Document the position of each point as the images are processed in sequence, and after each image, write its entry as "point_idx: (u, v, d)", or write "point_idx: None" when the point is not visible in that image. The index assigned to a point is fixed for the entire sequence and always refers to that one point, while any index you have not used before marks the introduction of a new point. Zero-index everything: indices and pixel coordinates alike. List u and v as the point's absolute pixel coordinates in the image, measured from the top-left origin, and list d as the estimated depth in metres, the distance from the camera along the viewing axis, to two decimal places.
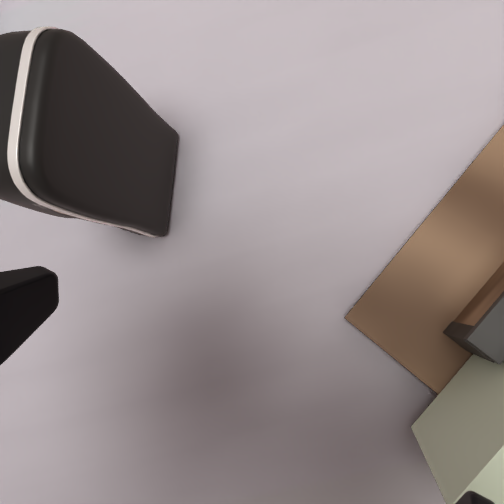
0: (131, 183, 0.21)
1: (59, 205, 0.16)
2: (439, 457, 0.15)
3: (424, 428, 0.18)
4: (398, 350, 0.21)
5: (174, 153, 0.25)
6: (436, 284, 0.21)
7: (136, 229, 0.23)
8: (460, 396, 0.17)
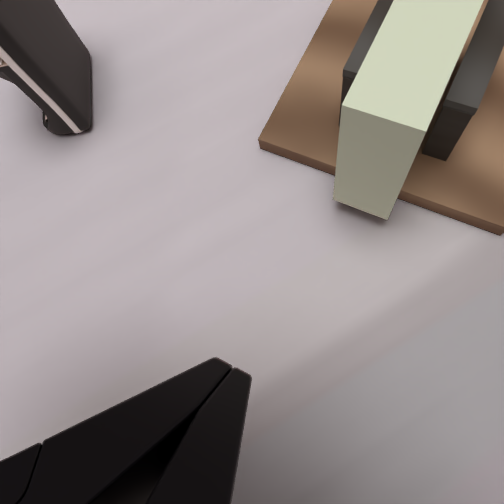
0: (49, 52, 0.23)
1: None
2: None
3: None
4: (307, 149, 0.24)
5: (88, 65, 0.29)
6: (324, 94, 0.25)
7: (60, 108, 0.25)
8: None
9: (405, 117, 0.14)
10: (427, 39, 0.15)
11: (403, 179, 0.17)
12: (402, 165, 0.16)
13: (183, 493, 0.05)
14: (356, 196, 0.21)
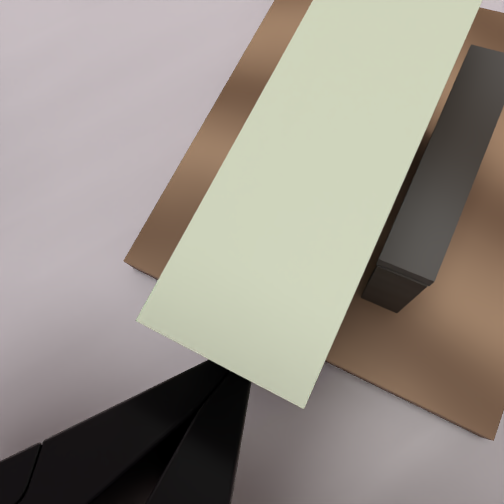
0: None
1: None
2: None
3: None
4: None
5: None
6: None
7: None
8: None
9: (261, 364, 0.06)
10: (323, 174, 0.07)
11: None
12: None
13: (183, 493, 0.05)
14: None
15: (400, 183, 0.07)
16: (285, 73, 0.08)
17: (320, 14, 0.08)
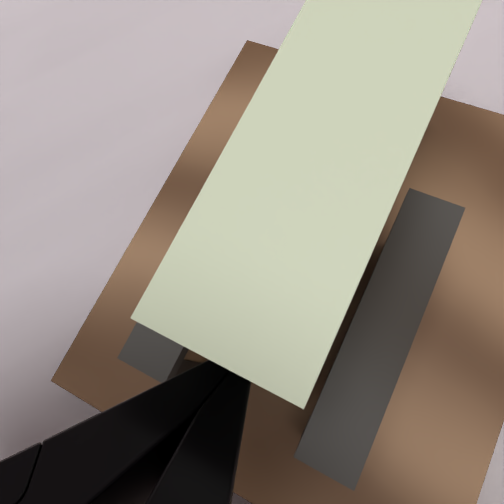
0: None
1: None
2: None
3: None
4: None
5: None
6: None
7: None
8: None
9: (260, 363, 0.06)
10: (324, 167, 0.07)
11: None
12: None
13: (183, 493, 0.05)
14: None
15: (403, 175, 0.07)
16: (284, 63, 0.08)
17: (320, 2, 0.08)
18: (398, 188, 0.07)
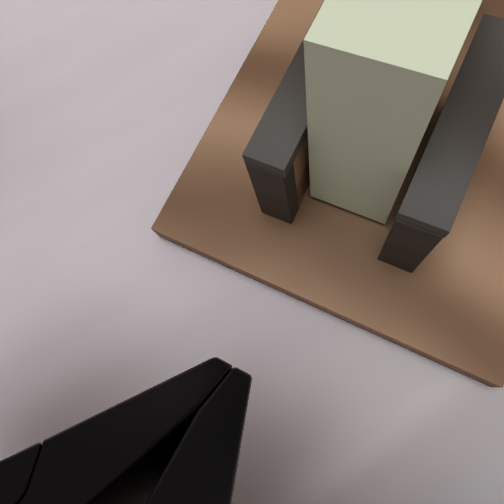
0: None
1: None
2: None
3: None
4: (217, 246, 0.17)
5: None
6: (245, 164, 0.18)
7: None
8: None
9: (410, 56, 0.08)
10: None
11: (407, 166, 0.11)
12: (405, 144, 0.10)
13: (183, 493, 0.05)
14: (341, 191, 0.15)
15: None
16: None
17: None
18: None
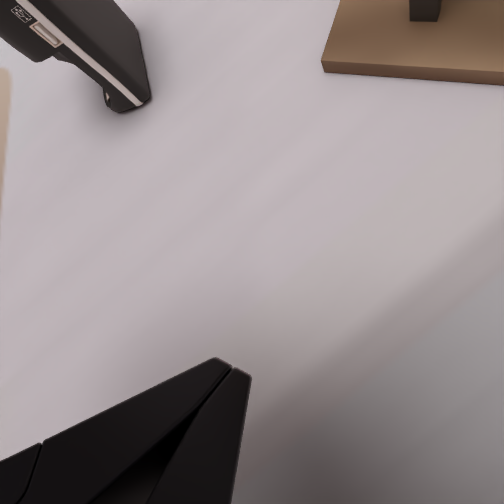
0: (98, 25, 0.23)
1: None
2: None
3: None
4: (378, 56, 0.21)
5: (136, 37, 0.28)
6: None
7: (118, 81, 0.25)
8: None
9: None
10: None
11: None
12: None
13: (183, 493, 0.05)
14: None
15: None
16: None
17: None
18: None
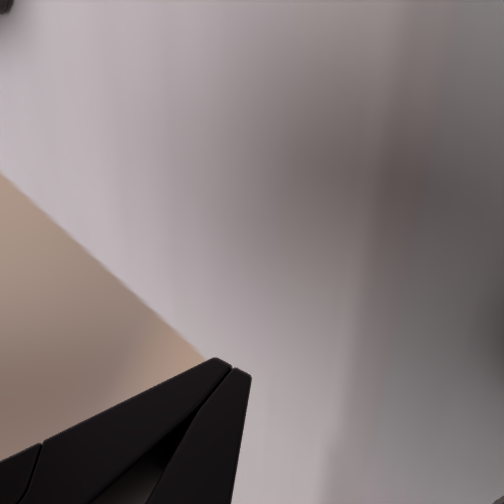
0: None
1: None
2: None
3: None
4: None
5: None
6: None
7: None
8: None
9: None
10: None
11: None
12: None
13: (183, 493, 0.05)
14: None
15: None
16: None
17: None
18: None
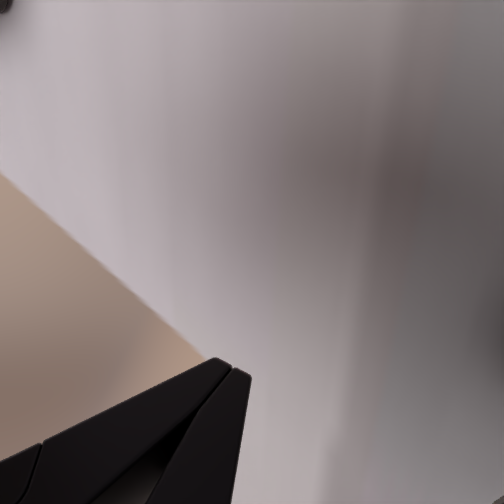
0: None
1: None
2: None
3: None
4: None
5: None
6: None
7: None
8: None
9: None
10: None
11: None
12: None
13: (183, 493, 0.05)
14: None
15: None
16: None
17: None
18: None
